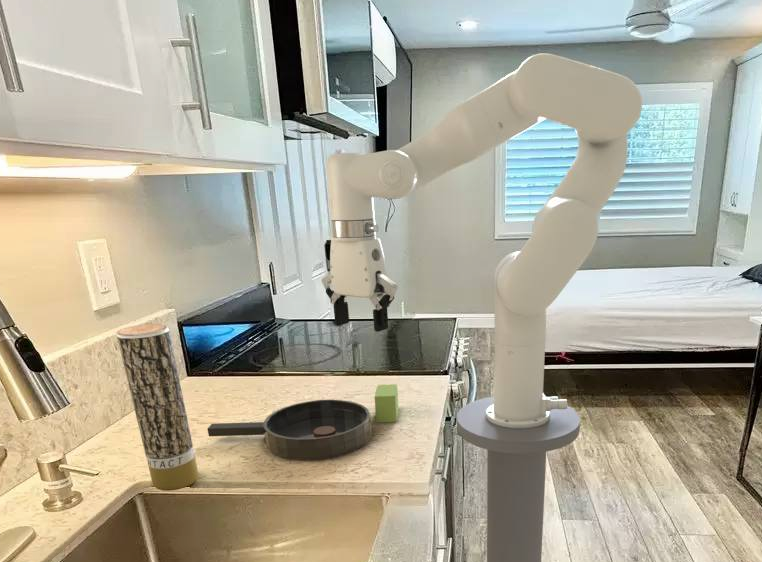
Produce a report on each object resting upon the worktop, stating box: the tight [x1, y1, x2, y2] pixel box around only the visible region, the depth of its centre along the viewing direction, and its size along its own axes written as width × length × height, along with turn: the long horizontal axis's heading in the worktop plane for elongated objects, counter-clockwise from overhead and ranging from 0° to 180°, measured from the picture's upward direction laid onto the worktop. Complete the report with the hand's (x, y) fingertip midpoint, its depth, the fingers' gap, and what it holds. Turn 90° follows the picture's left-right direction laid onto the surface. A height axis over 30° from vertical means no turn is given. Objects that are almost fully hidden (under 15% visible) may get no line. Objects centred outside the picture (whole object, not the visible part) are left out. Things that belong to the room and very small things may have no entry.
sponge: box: [374, 383, 399, 423], centre depth 115 cm, size 4×7×6 cm, turn 2°
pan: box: [263, 399, 373, 461], centre depth 106 cm, size 19×19×4 cm
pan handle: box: [207, 421, 265, 437], centre depth 106 cm, size 10×2×2 cm, turn 91°
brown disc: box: [313, 426, 336, 438], centre depth 106 cm, size 4×4×1 cm
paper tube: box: [116, 323, 199, 492], centre depth 87 cm, size 7×7×25 cm
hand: (361, 327), depth 106 cm, fingers open, 9 cm apart
